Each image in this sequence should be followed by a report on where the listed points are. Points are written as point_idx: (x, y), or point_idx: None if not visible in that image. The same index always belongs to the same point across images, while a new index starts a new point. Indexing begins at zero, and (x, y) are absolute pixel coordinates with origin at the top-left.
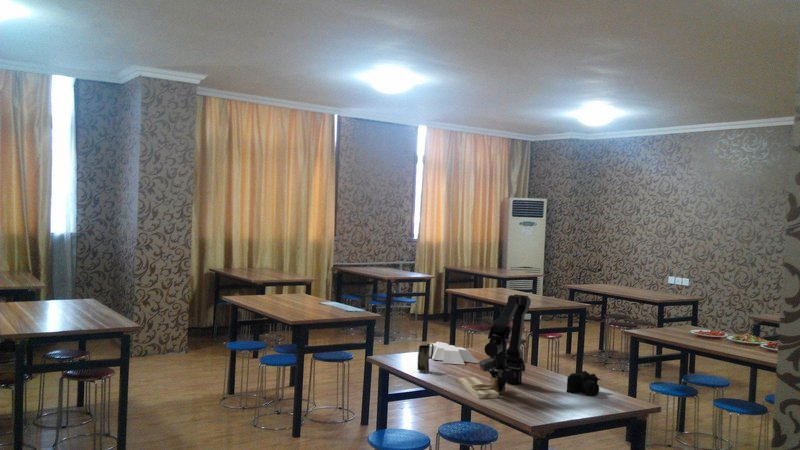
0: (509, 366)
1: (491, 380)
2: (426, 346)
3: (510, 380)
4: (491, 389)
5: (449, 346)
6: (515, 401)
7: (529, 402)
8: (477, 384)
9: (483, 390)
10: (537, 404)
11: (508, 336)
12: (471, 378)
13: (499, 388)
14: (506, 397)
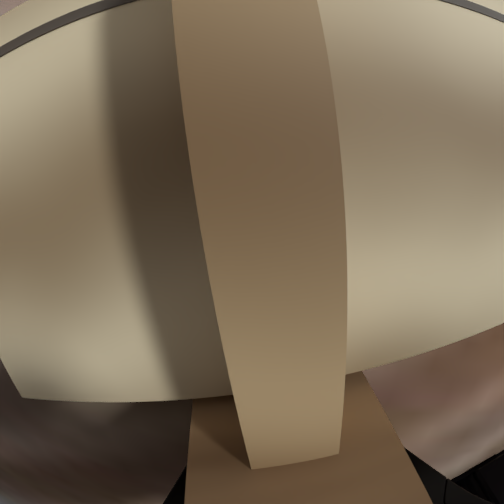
0: None
1: (372, 497)
2: None
3: (472, 492)
4: (200, 370)
5: None
6: (13, 439)
7: (36, 490)
8: (254, 5)
9: (110, 174)
10: (21, 497)
11: None
12: None
13: (181, 476)
14: (99, 435)
